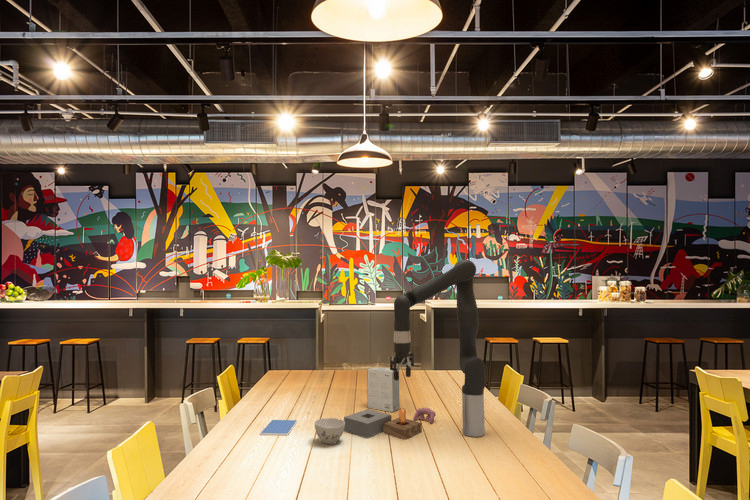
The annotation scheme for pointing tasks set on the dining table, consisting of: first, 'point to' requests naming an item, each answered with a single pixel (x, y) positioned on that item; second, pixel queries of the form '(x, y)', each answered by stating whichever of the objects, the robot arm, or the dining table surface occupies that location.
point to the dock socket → (366, 423)
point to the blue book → (279, 427)
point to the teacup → (329, 429)
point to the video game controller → (422, 411)
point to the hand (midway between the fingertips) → (402, 378)
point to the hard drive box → (382, 389)
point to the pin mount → (402, 428)
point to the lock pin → (402, 416)
